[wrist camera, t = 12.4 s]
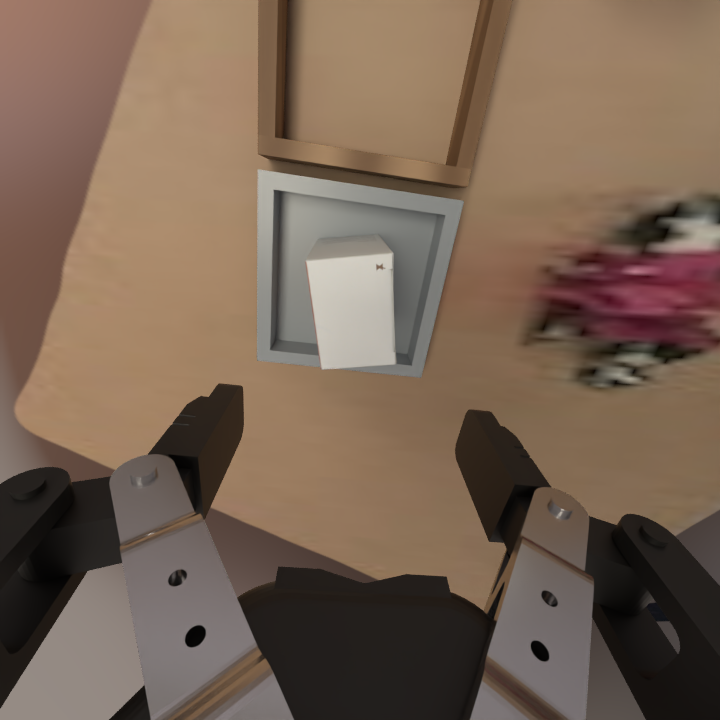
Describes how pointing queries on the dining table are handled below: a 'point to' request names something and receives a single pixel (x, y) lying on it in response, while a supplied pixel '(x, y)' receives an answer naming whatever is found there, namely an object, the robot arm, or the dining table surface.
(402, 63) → the dining table surface
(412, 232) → the tray
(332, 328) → the small box
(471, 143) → the frame
